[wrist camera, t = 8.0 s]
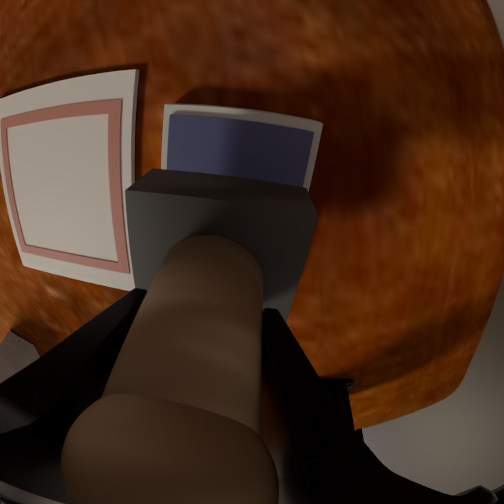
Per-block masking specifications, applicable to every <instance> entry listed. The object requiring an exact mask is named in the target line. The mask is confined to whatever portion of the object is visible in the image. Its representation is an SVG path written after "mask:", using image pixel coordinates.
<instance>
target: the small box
mask: <svg viewBox="0 0 504 504" xmlns="http://www.w3.org/2000/svg"><path fill="white" fill-rule="evenodd" d="M39 357H40V356H39V354H38V352H37V350H36V348H35V346H34V345H33V344H31V343H29V342H27V341H26V340H24V339H22V338H21V337H19V336H17V335H16V334H14V333H12V332H11V331H9V332H8V333H7V335H6V337H5V338H4V340H3V341H2V343H1V345H0V383H1V382H3V381H4V380H6V379H7V378H9V377H10V376H12V375H14V374H15V373H17V372H18V371H20V370H22V369H23V368H25V367H26V366H28V365H29V364H31V363H32V362H34V361H35V360H37V359H38V358H39Z"/></svg>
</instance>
